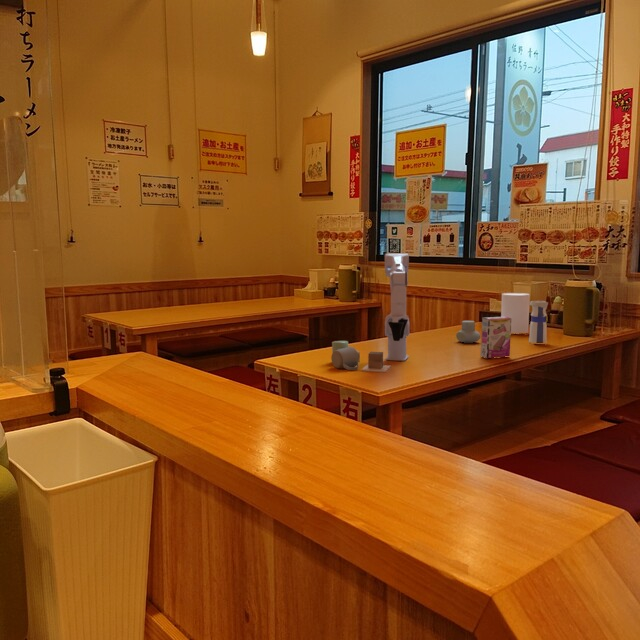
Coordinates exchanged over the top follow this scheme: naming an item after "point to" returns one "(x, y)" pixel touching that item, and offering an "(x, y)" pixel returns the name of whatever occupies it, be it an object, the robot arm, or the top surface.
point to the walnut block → (375, 360)
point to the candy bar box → (495, 337)
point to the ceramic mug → (345, 358)
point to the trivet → (376, 369)
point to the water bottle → (538, 322)
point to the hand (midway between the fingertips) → (398, 339)
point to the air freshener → (468, 332)
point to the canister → (516, 311)
